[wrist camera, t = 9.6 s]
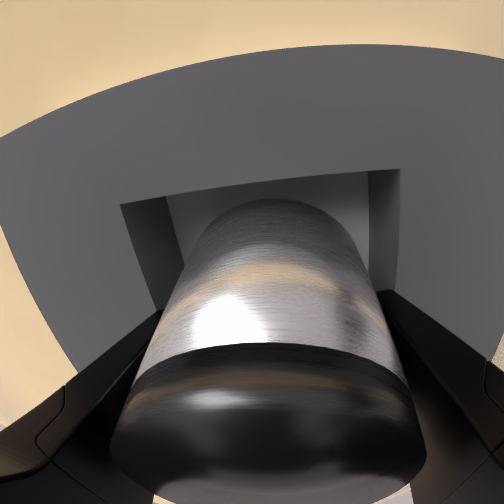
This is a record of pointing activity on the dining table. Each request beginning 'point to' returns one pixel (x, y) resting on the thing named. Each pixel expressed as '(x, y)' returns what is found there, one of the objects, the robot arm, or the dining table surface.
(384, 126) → the grey plate with pocket
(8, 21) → the dining table surface
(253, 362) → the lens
